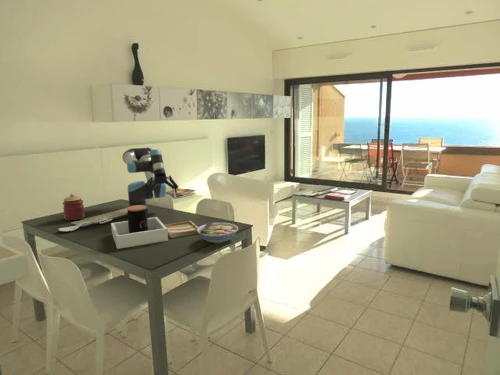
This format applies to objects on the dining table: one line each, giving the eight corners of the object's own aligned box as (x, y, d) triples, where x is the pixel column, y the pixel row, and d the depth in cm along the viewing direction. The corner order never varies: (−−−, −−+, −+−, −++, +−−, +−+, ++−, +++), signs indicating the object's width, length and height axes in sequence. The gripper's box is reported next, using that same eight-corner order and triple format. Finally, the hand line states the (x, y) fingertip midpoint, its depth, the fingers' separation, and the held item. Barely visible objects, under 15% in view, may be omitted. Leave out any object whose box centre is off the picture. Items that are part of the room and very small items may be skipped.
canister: (83, 215, 261) (81, 191, 258) (86, 219, 250) (83, 194, 247) (63, 218, 254) (60, 193, 251) (65, 222, 244) (62, 196, 240)
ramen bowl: (233, 250, 188) (232, 235, 186) (191, 248, 192) (190, 233, 190) (242, 234, 212) (242, 221, 211) (204, 233, 216) (204, 220, 215)
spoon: (113, 223, 241) (112, 218, 240) (61, 235, 219) (61, 229, 218) (107, 220, 247) (106, 215, 246) (56, 231, 225) (55, 226, 224)
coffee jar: (143, 241, 204) (140, 210, 201) (125, 240, 207) (123, 209, 203) (151, 235, 215) (149, 205, 211) (135, 234, 217) (132, 204, 213)
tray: (162, 228, 226) (162, 224, 226) (191, 224, 234) (190, 220, 233) (170, 238, 209) (170, 234, 208) (200, 233, 216) (200, 229, 216)
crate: (112, 234, 217) (111, 223, 215) (157, 227, 228) (156, 217, 227) (117, 248, 193) (116, 236, 192) (167, 240, 204) (167, 228, 203)
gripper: (140, 169, 236) (146, 199, 229) (178, 166, 247) (184, 194, 239) (139, 175, 243) (144, 204, 235) (176, 172, 253) (182, 199, 246)
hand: (165, 199), depth 237 cm, fingers open, 13 cm apart
